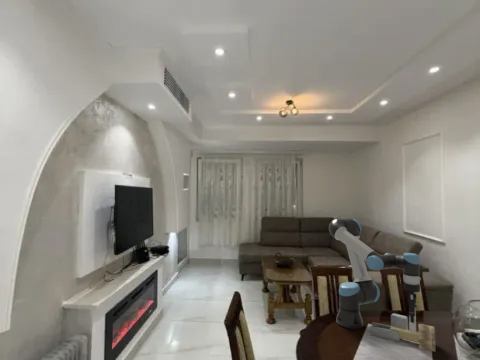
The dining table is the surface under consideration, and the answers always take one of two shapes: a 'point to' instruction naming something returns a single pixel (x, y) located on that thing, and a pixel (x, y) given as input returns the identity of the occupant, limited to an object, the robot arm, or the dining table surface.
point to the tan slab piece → (407, 333)
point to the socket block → (427, 337)
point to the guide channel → (384, 332)
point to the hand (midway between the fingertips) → (412, 323)
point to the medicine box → (399, 321)
